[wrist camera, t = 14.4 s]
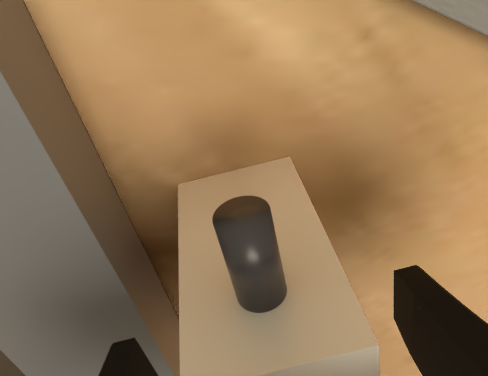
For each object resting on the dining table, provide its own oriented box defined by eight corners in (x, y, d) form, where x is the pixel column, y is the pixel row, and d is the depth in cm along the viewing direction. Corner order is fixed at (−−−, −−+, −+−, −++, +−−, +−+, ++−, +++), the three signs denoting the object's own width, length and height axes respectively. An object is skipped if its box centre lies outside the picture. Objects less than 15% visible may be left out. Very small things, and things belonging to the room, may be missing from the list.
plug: (279, 91, 13) (377, 259, 7) (302, 240, 16) (380, 436, 10) (155, 122, 13) (137, 319, 7) (206, 263, 16) (225, 475, 10)
